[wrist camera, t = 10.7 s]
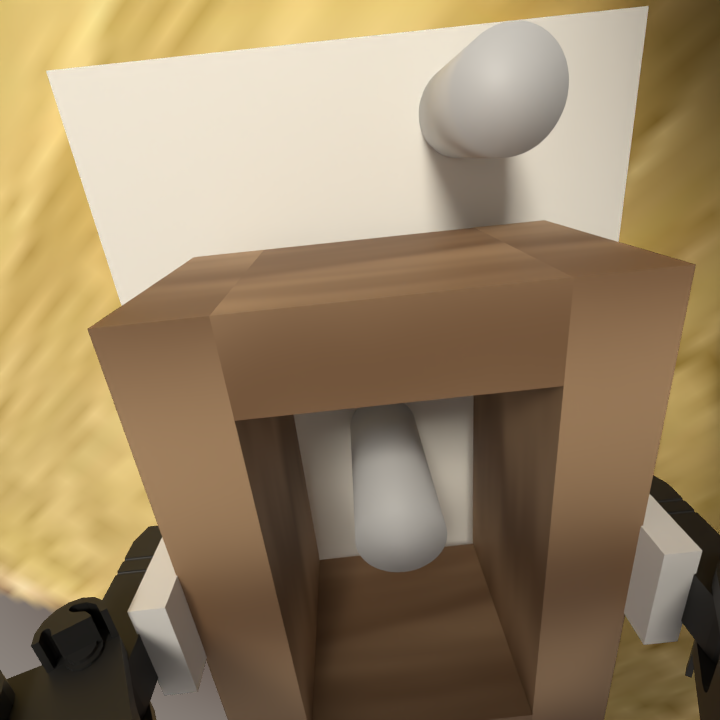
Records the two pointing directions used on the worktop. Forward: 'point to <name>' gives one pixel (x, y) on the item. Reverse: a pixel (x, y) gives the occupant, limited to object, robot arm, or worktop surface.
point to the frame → (392, 386)
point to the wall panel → (361, 201)
